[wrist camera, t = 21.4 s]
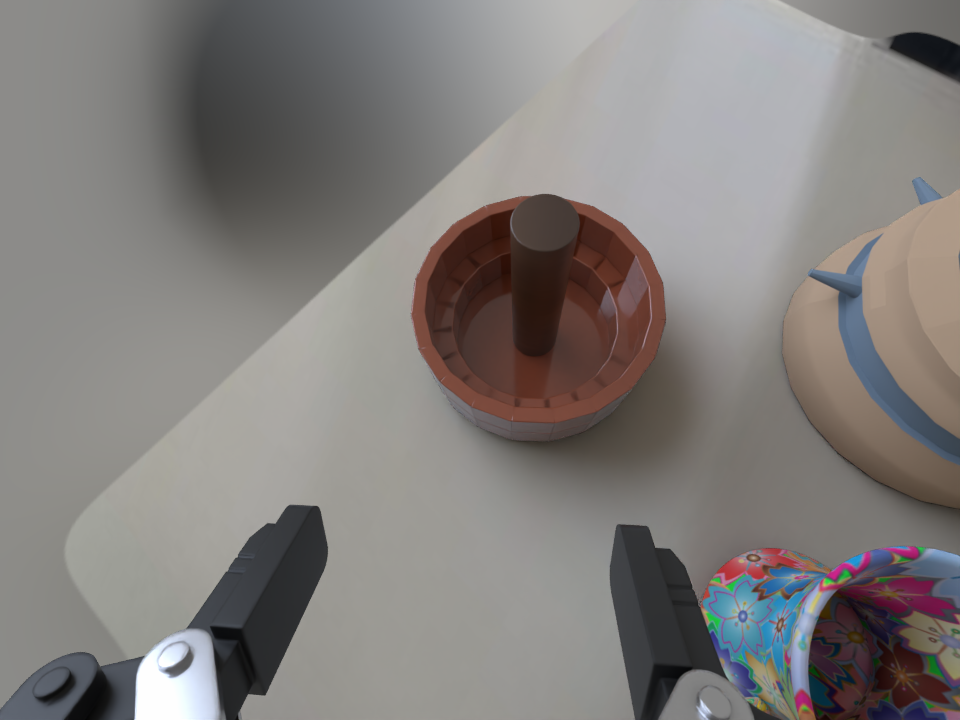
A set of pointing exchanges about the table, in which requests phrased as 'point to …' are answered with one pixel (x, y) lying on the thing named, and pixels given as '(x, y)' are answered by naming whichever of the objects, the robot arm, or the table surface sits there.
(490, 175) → the table surface
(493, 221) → the bowl
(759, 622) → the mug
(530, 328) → the stick
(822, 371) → the alarm clock
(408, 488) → the table surface
